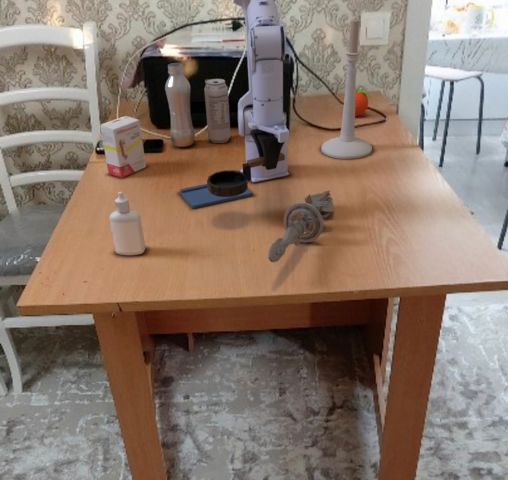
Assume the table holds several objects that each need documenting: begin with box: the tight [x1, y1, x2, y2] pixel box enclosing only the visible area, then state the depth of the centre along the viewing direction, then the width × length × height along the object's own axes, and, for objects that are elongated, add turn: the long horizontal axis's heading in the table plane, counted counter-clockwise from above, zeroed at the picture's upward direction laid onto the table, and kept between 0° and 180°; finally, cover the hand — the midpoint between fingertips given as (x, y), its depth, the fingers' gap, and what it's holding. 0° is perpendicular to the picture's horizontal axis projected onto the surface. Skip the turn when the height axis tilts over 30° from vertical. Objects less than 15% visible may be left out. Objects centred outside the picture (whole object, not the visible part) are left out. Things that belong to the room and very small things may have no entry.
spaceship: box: [267, 190, 334, 263], centre depth 112 cm, size 8×35×8 cm
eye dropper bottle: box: [108, 191, 146, 256], centre depth 110 cm, size 4×6×12 cm
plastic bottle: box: [164, 62, 196, 148], centre depth 152 cm, size 6×7×20 cm
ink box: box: [100, 115, 147, 179], centre depth 142 cm, size 9×5×12 cm, turn 143°
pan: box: [206, 153, 285, 197], centre depth 119 cm, size 16×8×5 cm, turn 114°
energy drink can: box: [204, 78, 231, 144], centre depth 156 cm, size 6×6×15 cm
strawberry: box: [355, 89, 373, 117], centre depth 171 cm, size 8×7×7 cm
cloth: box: [178, 183, 253, 209], centre depth 133 cm, size 14×9×1 cm, turn 114°
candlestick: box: [321, 17, 373, 160], centre depth 143 cm, size 13×13×30 cm
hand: (268, 166), depth 120 cm, fingers closed on pan
